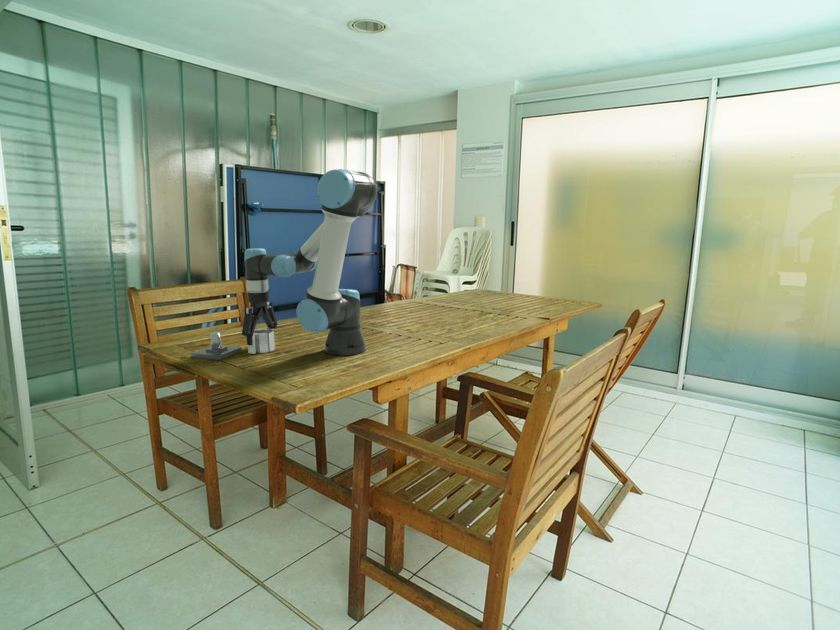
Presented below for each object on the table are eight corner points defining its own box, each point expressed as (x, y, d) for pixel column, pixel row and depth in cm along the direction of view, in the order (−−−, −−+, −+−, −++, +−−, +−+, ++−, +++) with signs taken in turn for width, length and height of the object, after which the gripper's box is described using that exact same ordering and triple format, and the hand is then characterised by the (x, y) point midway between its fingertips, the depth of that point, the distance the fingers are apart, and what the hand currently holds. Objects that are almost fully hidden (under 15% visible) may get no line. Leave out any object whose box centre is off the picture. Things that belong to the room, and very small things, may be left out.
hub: (279, 347, 187) (278, 329, 186) (265, 353, 179) (263, 335, 178) (259, 345, 190) (258, 328, 189) (244, 351, 182) (242, 333, 180)
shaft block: (241, 351, 183) (240, 330, 181) (219, 360, 172) (217, 337, 170) (215, 348, 186) (213, 328, 185) (191, 357, 175) (189, 335, 174)
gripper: (268, 286, 192) (271, 340, 197) (227, 295, 171) (232, 356, 175) (284, 287, 190) (288, 342, 194) (246, 296, 168) (250, 358, 173)
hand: (261, 349), depth 185 cm, fingers open, 11 cm apart
